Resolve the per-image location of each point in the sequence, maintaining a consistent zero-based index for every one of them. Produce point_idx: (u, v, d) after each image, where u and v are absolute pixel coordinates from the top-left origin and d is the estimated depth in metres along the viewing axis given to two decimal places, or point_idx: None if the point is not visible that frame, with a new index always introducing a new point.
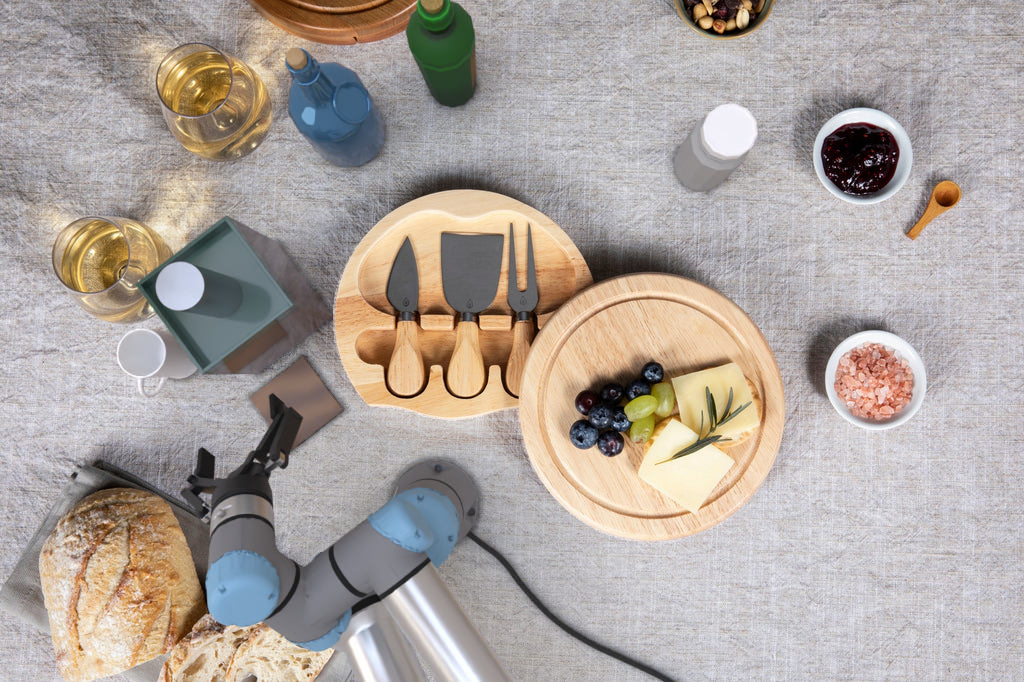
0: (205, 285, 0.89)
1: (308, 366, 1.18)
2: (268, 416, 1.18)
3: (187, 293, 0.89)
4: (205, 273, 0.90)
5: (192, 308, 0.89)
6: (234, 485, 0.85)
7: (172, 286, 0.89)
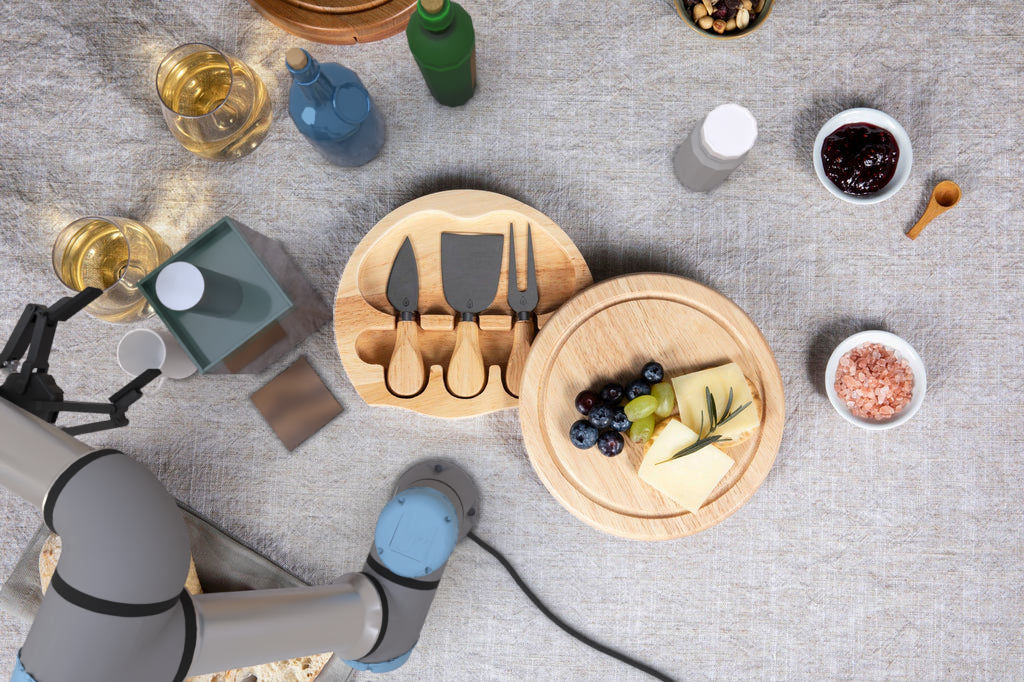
0: (205, 285, 0.89)
1: (308, 366, 1.18)
2: (268, 416, 1.18)
3: (187, 293, 0.89)
4: (205, 273, 0.90)
5: (192, 308, 0.89)
6: None
7: (172, 286, 0.89)
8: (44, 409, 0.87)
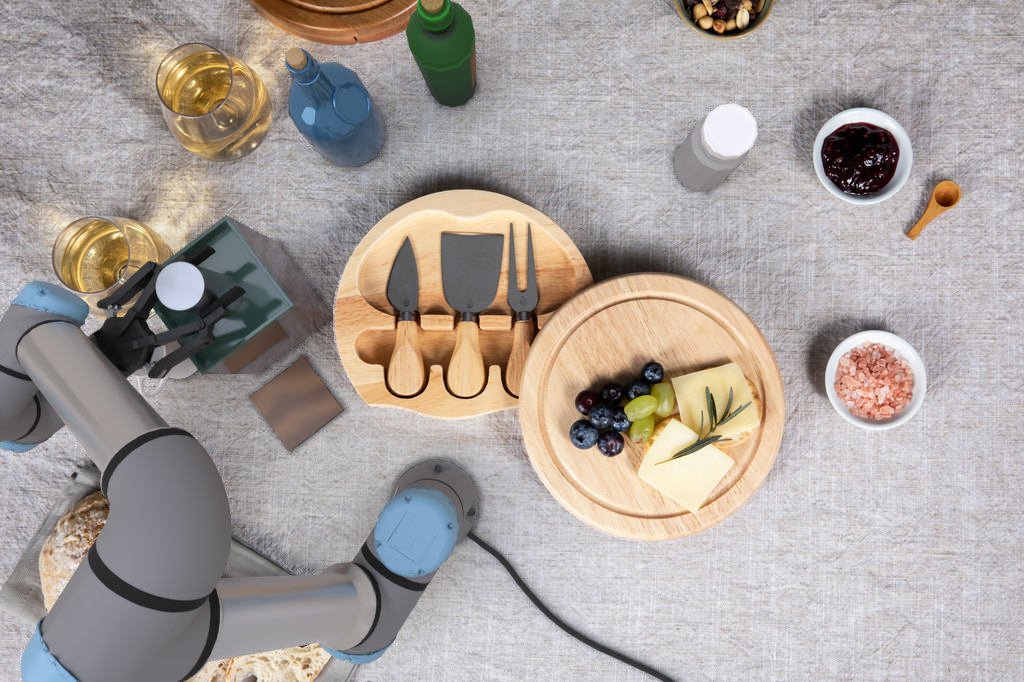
0: (205, 285, 0.89)
1: (308, 366, 1.18)
2: (268, 416, 1.18)
3: (187, 293, 0.89)
4: (205, 273, 0.90)
5: (192, 308, 0.89)
6: None
7: (172, 286, 0.89)
8: (141, 346, 0.91)
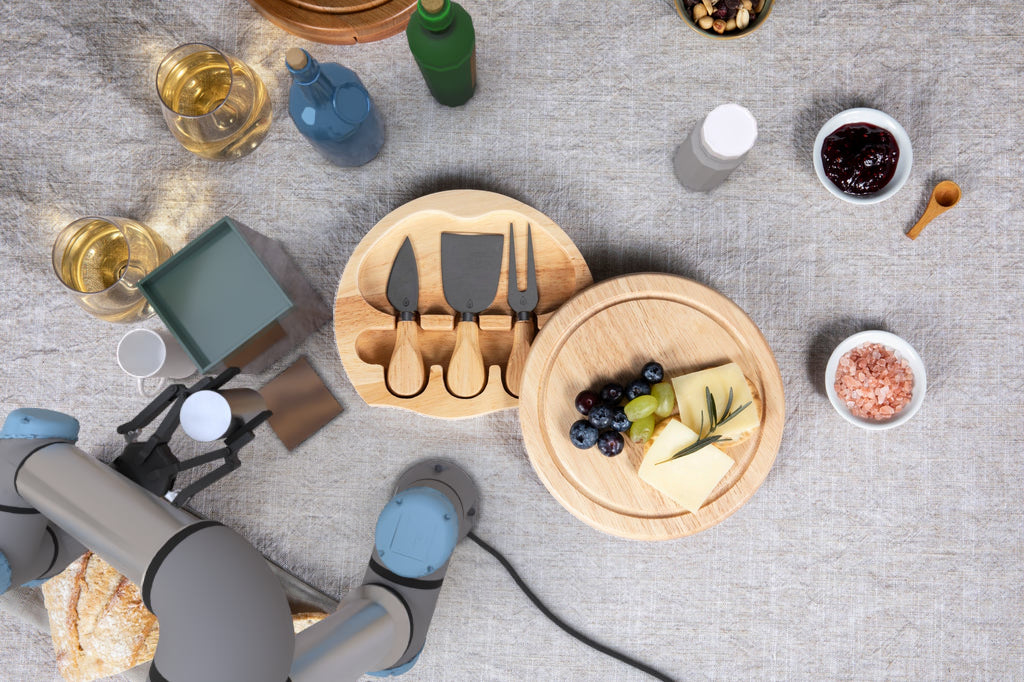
0: (232, 414, 0.84)
1: (308, 366, 1.18)
2: None
3: (213, 424, 0.84)
4: (231, 400, 0.86)
5: (218, 439, 0.85)
6: None
7: (197, 416, 0.84)
8: (164, 475, 0.87)
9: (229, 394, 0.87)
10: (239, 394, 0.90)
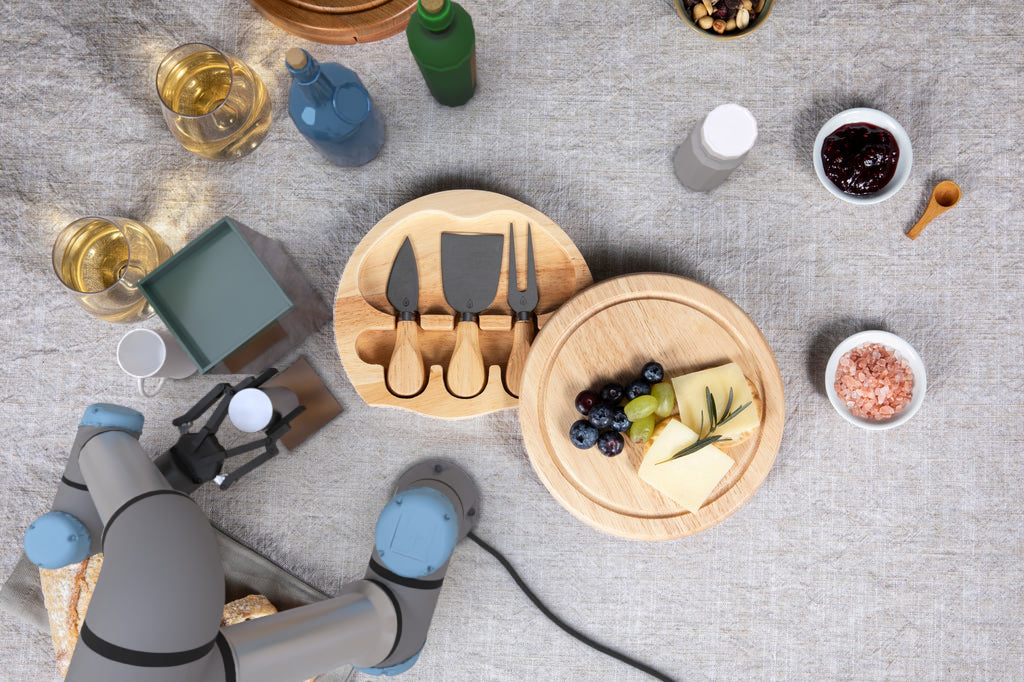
0: (273, 409, 0.98)
1: (308, 366, 1.18)
2: None
3: (257, 417, 0.98)
4: (272, 397, 1.00)
5: (261, 430, 0.99)
6: None
7: (243, 410, 0.98)
8: (213, 461, 1.01)
9: (270, 391, 1.01)
10: (277, 391, 1.03)
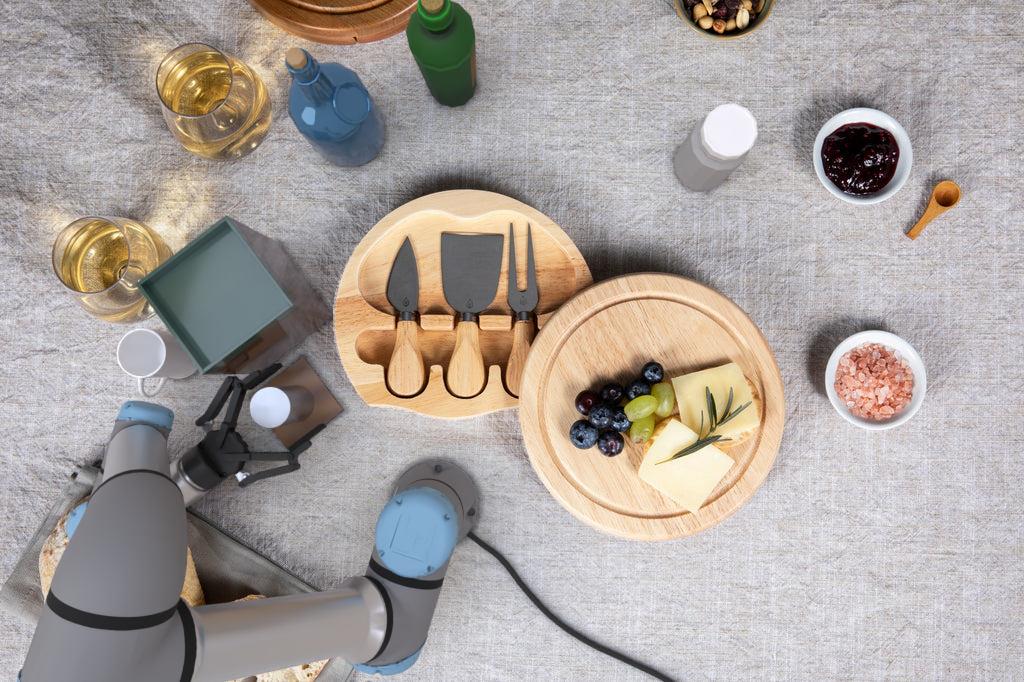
0: (291, 406, 1.06)
1: (308, 366, 1.18)
2: None
3: (276, 414, 1.06)
4: (290, 395, 1.07)
5: (280, 425, 1.06)
6: None
7: (263, 407, 1.06)
8: (237, 460, 1.09)
9: (287, 390, 1.08)
10: (294, 390, 1.11)
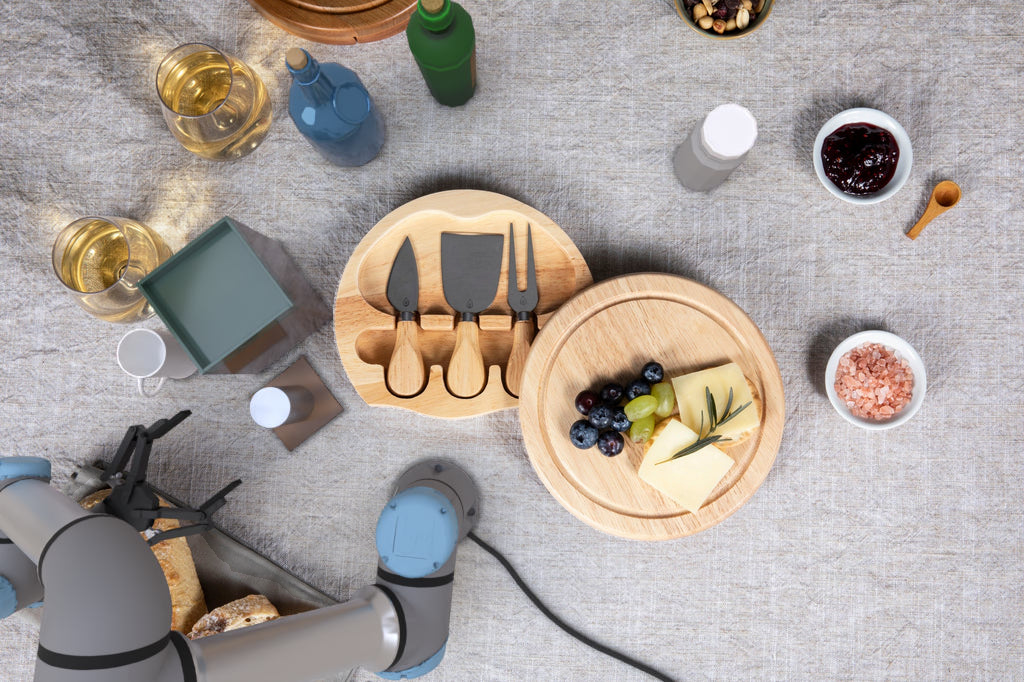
0: (291, 406, 1.06)
1: (308, 366, 1.18)
2: None
3: (276, 414, 1.06)
4: (290, 395, 1.07)
5: (280, 425, 1.06)
6: None
7: (263, 407, 1.06)
8: (145, 517, 1.02)
9: (287, 390, 1.08)
10: (294, 390, 1.11)
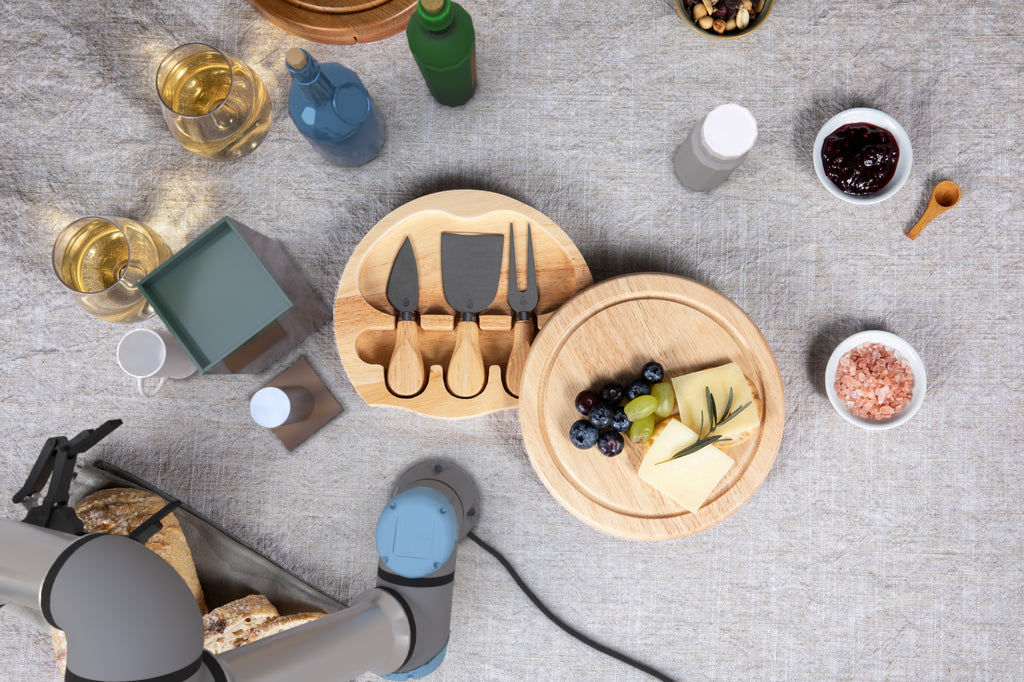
0: (291, 406, 1.06)
1: (308, 366, 1.18)
2: None
3: (276, 414, 1.06)
4: (290, 395, 1.07)
5: (280, 425, 1.06)
6: None
7: (263, 407, 1.06)
8: None
9: (287, 390, 1.08)
10: (294, 390, 1.11)
